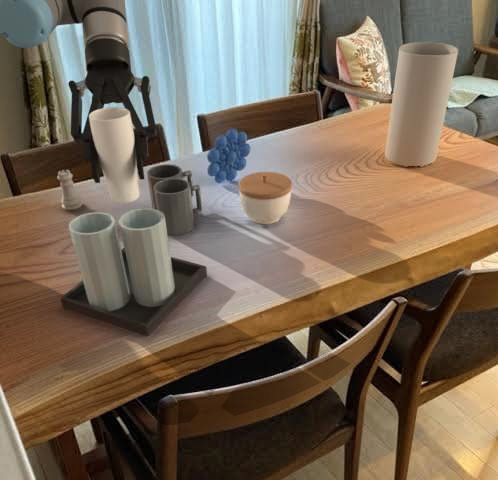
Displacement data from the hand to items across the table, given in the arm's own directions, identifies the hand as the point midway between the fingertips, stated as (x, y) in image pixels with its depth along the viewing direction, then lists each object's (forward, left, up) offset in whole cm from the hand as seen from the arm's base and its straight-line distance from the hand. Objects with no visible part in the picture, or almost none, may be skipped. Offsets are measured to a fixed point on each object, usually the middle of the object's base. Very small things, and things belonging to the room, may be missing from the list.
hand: (118, 178), depth 90 cm
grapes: (-1, +39, -17) cm, 42 cm away
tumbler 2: (+10, -8, -17) cm, 21 cm away
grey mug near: (+1, +15, -17) cm, 23 cm away
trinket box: (+15, +26, -17) cm, 34 cm away
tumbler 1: (+4, -12, -17) cm, 21 cm away
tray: (+6, -7, -17) cm, 19 cm away
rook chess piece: (-26, +13, -17) cm, 33 cm away
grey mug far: (-4, +21, -17) cm, 27 cm away
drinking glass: (-2, +3, -6) cm, 7 cm away
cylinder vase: (+35, +68, -17) cm, 78 cm away
